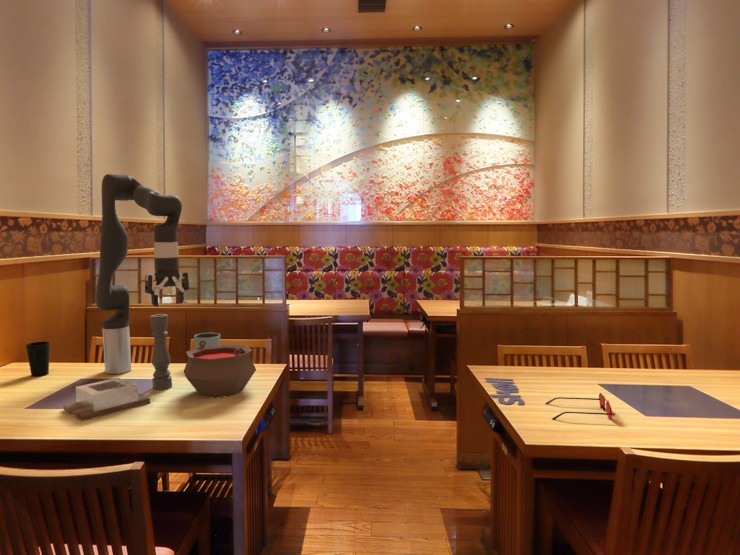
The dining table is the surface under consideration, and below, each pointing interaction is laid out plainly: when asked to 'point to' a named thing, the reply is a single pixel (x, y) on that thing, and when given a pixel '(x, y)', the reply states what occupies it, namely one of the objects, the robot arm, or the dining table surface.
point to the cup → (38, 358)
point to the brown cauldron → (219, 369)
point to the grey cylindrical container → (207, 339)
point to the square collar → (106, 394)
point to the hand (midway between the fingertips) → (168, 304)
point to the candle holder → (160, 352)
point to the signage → (505, 391)
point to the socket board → (86, 413)
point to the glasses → (602, 404)
